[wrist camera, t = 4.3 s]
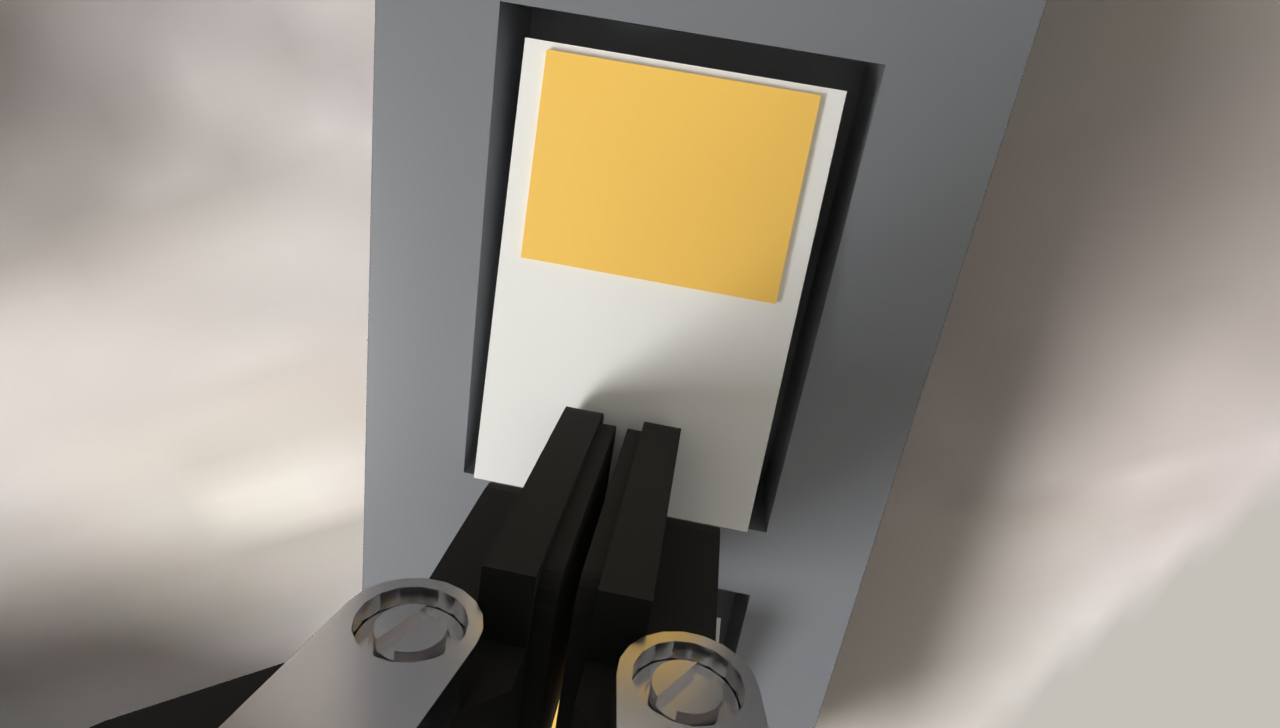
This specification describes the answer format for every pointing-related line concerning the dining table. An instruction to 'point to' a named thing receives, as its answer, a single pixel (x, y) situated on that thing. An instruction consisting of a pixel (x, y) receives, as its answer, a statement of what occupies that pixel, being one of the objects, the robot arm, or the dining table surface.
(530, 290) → the middle rocker
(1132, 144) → the dining table surface
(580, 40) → the rocker switch panel
